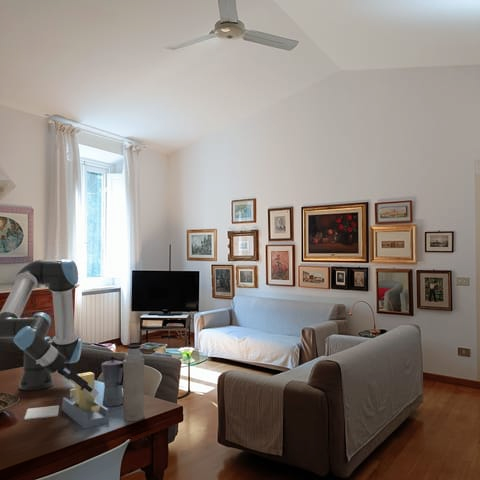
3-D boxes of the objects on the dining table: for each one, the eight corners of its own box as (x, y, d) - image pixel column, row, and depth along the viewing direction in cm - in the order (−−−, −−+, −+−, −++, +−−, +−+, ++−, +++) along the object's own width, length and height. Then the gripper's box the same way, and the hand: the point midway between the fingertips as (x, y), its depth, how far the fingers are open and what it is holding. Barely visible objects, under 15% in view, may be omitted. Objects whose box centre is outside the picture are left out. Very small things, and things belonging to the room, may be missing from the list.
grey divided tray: (62, 410, 177) (62, 390, 178) (84, 405, 183) (84, 386, 183) (84, 428, 158) (85, 406, 158) (108, 422, 164) (108, 401, 164)
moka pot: (111, 397, 193) (112, 352, 194) (134, 404, 184) (135, 357, 185) (93, 403, 186) (94, 356, 186) (116, 410, 177) (117, 361, 178)
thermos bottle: (120, 421, 165) (120, 347, 167) (126, 413, 173) (126, 343, 175) (140, 421, 165) (141, 347, 166) (146, 413, 173) (146, 343, 174)
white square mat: (27, 410, 178) (27, 408, 178) (59, 406, 182) (59, 405, 182) (24, 420, 167) (24, 418, 167) (57, 416, 171) (57, 414, 171)
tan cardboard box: (75, 410, 170) (75, 374, 171) (90, 406, 174) (90, 371, 175) (78, 413, 167) (79, 376, 168) (94, 409, 171) (94, 373, 172)
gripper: (34, 361, 171) (72, 392, 180) (53, 373, 152) (95, 407, 161) (48, 346, 175) (84, 377, 183) (69, 356, 155) (108, 390, 164)
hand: (89, 391), depth 172 cm, fingers open, 13 cm apart
